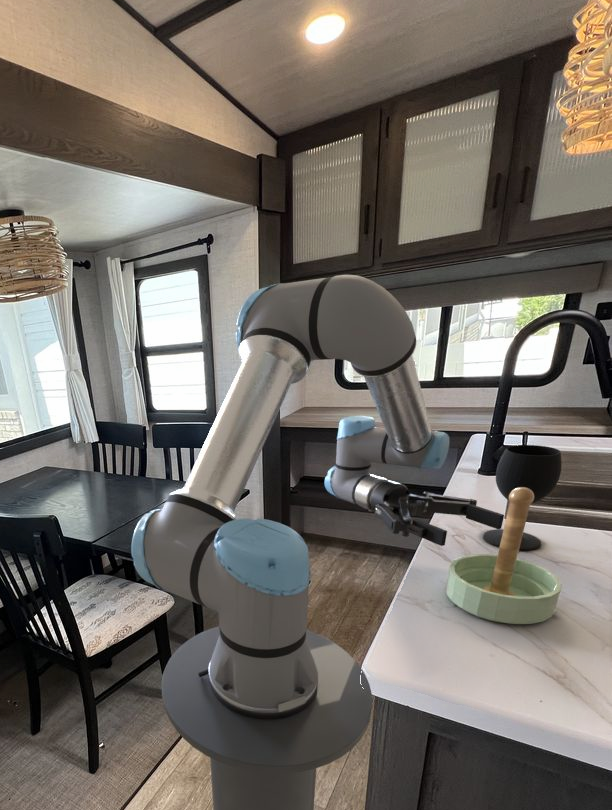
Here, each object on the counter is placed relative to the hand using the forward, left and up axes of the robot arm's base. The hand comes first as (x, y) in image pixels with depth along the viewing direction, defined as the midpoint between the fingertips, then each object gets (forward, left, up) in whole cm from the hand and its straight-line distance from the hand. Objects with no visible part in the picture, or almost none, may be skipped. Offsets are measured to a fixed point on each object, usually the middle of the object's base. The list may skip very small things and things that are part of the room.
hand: (473, 530), depth 82 cm
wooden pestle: (+3, -6, -10) cm, 12 cm away
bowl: (+3, -6, -11) cm, 13 cm away
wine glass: (+17, +19, -11) cm, 28 cm away
